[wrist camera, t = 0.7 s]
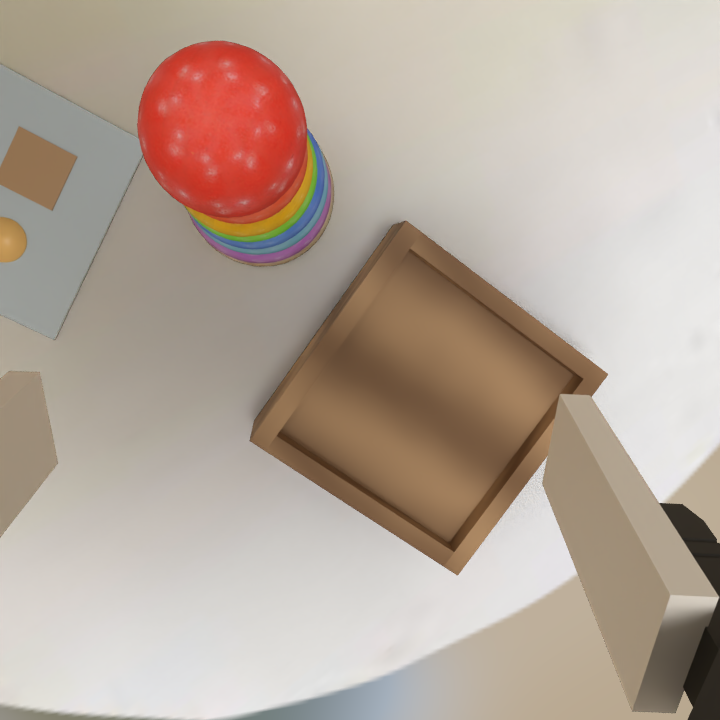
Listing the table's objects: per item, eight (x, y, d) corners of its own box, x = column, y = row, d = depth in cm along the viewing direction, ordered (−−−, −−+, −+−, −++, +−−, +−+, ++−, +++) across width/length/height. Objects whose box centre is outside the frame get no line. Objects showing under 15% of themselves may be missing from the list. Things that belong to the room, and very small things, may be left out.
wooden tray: (393, 224, 37) (406, 220, 32) (574, 362, 39) (608, 374, 35) (254, 420, 37) (249, 440, 33) (440, 542, 40) (457, 575, 36)
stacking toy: (323, 112, 35) (359, -49, 17) (340, 257, 37) (391, 254, 18) (178, 126, 35) (51, -27, 16) (201, 273, 36) (108, 287, 17)
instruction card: (-14, 56, 33) (-17, 54, 33) (148, 143, 34) (147, 142, 34) (-106, 263, 34) (-110, 263, 34) (55, 339, 36) (53, 340, 35)
